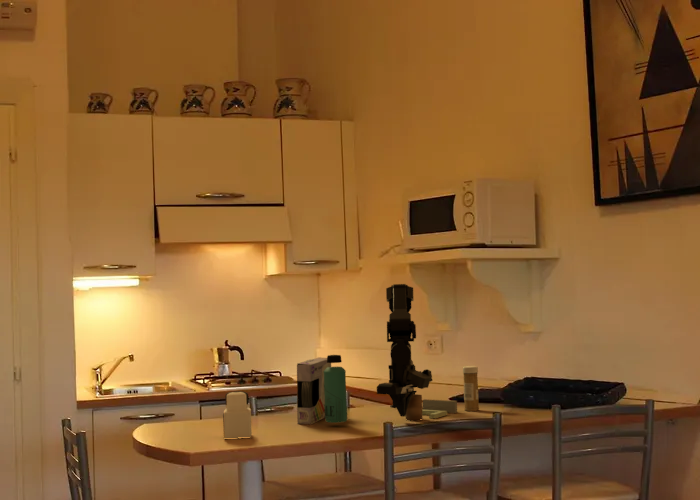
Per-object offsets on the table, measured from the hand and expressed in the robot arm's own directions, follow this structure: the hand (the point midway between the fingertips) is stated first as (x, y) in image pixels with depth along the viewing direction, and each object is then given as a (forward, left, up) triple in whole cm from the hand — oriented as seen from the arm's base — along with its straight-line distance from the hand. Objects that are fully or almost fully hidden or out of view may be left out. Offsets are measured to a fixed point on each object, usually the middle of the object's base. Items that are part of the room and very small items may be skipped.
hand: (402, 416), depth 273 cm
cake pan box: (-27, -5, -2) cm, 27 cm away
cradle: (0, +13, -2) cm, 14 cm away
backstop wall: (0, +23, -2) cm, 23 cm away
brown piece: (0, +6, -2) cm, 6 cm away
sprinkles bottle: (+7, +30, -2) cm, 31 cm away
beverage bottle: (-14, -13, -2) cm, 19 cm away
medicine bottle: (-28, -39, -2) cm, 48 cm away
